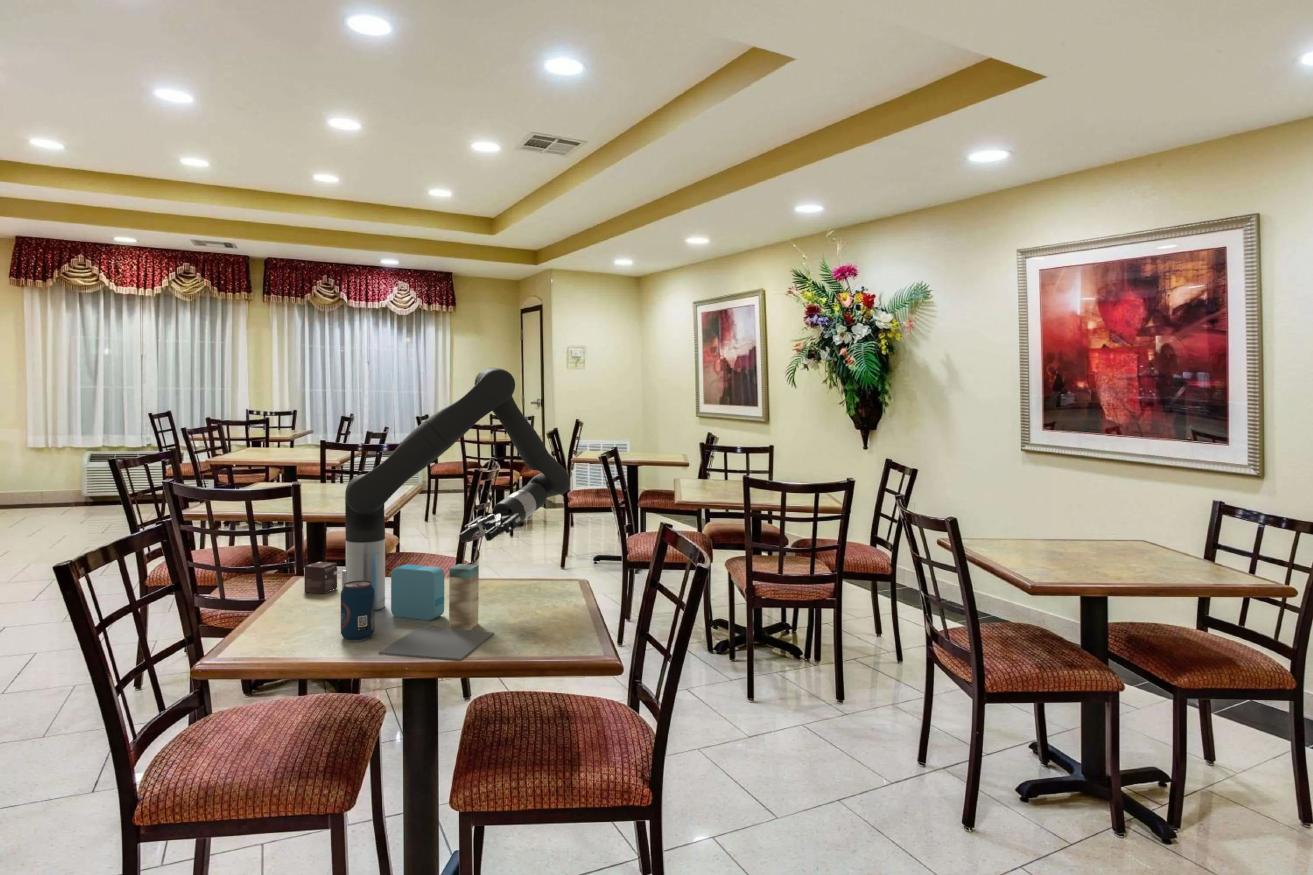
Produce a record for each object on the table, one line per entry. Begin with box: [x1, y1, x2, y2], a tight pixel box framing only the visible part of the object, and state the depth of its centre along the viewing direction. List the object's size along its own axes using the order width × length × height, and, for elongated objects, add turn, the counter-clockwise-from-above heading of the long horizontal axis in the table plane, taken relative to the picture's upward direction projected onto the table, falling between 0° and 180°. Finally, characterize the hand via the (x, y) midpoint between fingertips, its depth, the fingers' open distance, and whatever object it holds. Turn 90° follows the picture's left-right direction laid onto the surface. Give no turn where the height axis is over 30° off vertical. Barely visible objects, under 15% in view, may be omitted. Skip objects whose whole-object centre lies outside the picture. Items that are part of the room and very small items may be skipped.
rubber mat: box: [378, 626, 495, 662], centre depth 165 cm, size 18×18×1 cm
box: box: [304, 561, 338, 594], centre depth 207 cm, size 6×6×7 cm
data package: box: [390, 563, 445, 621], centre depth 185 cm, size 12×4×12 cm, turn 74°
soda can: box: [340, 581, 376, 642], centre depth 168 cm, size 7×7×12 cm
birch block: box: [448, 563, 480, 631], centre depth 178 cm, size 5×5×14 cm
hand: (473, 538), depth 185 cm, fingers open, 8 cm apart
